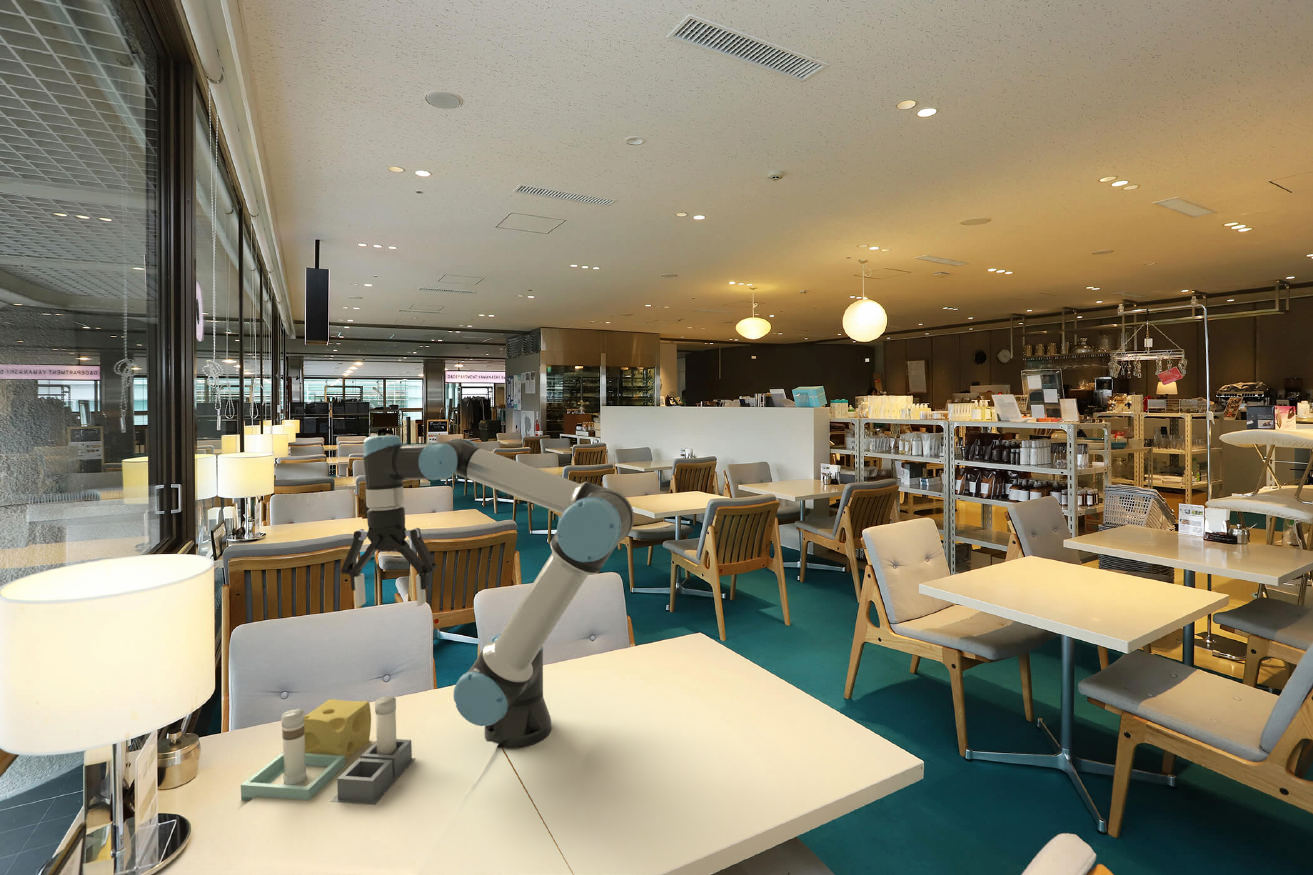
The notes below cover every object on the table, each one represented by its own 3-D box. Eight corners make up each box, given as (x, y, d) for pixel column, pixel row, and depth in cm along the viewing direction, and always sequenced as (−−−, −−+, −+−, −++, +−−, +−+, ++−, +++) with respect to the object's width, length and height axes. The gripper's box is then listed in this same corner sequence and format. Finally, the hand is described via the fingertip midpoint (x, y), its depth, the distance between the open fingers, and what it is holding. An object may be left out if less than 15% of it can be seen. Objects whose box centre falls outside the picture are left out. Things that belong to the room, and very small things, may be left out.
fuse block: (415, 762, 139) (414, 694, 139) (375, 809, 124) (373, 732, 123) (376, 760, 140) (374, 692, 140) (330, 806, 125) (328, 729, 124)
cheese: (341, 769, 137) (340, 723, 137) (296, 763, 139) (295, 718, 139) (372, 743, 147) (371, 700, 147) (330, 738, 150) (329, 696, 149)
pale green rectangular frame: (345, 769, 137) (345, 755, 137) (308, 804, 125) (308, 789, 125) (283, 765, 139) (282, 751, 138) (241, 799, 127) (240, 784, 127)
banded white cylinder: (311, 776, 134) (308, 709, 133) (298, 787, 130) (295, 718, 129) (292, 774, 134) (290, 708, 133) (279, 786, 130) (276, 717, 129)
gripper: (448, 503, 144) (453, 598, 145) (339, 505, 145) (345, 599, 147) (435, 508, 136) (440, 609, 137) (319, 511, 138) (326, 610, 139)
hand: (391, 604), depth 142 cm, fingers open, 13 cm apart
